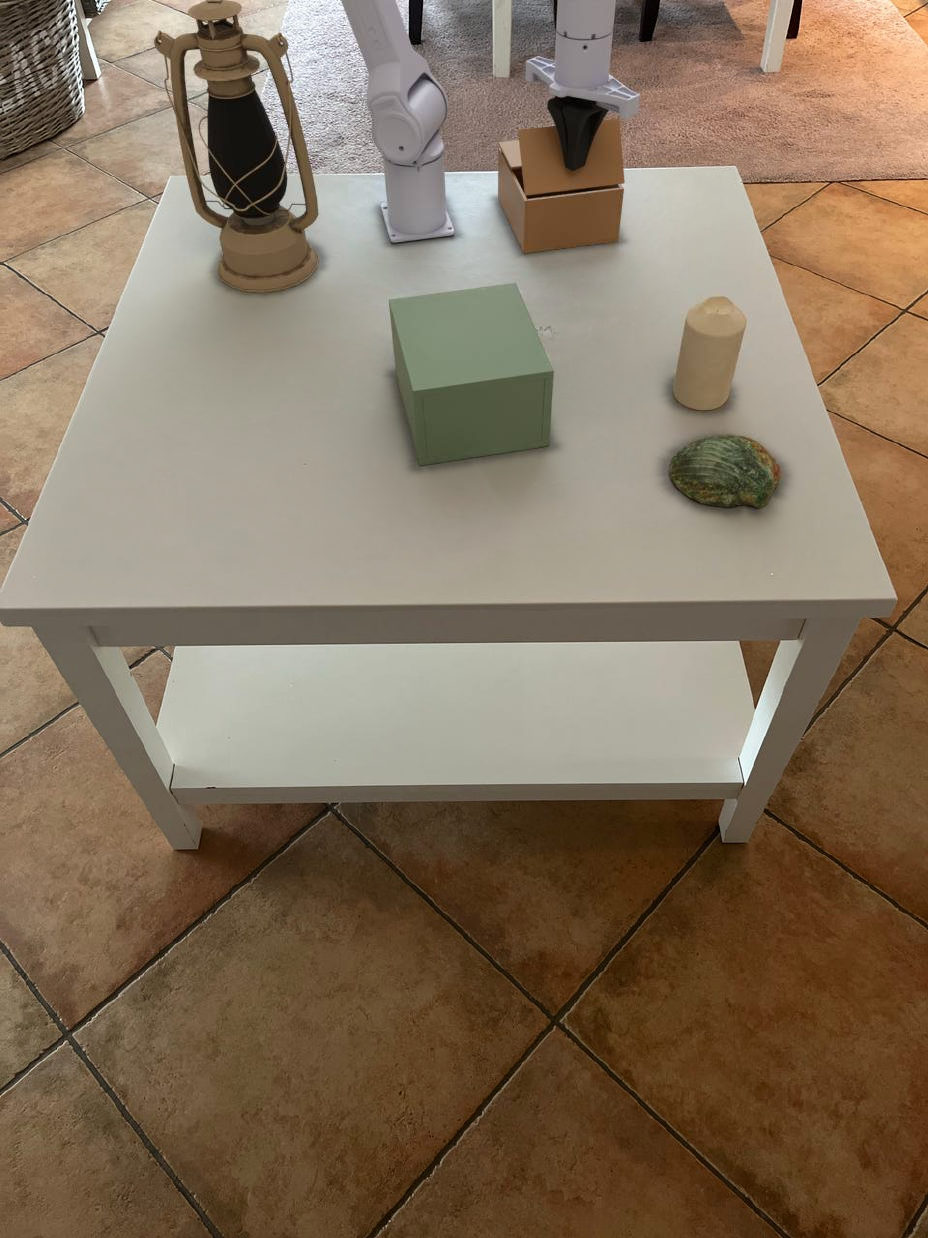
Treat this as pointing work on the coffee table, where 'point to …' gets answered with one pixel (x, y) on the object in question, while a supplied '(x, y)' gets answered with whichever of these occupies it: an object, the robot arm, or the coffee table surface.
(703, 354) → the candle
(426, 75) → the robot arm
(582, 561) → the coffee table surface
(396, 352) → the cabinet
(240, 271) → the lantern
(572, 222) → the carton
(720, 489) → the seashell
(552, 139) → the flap
